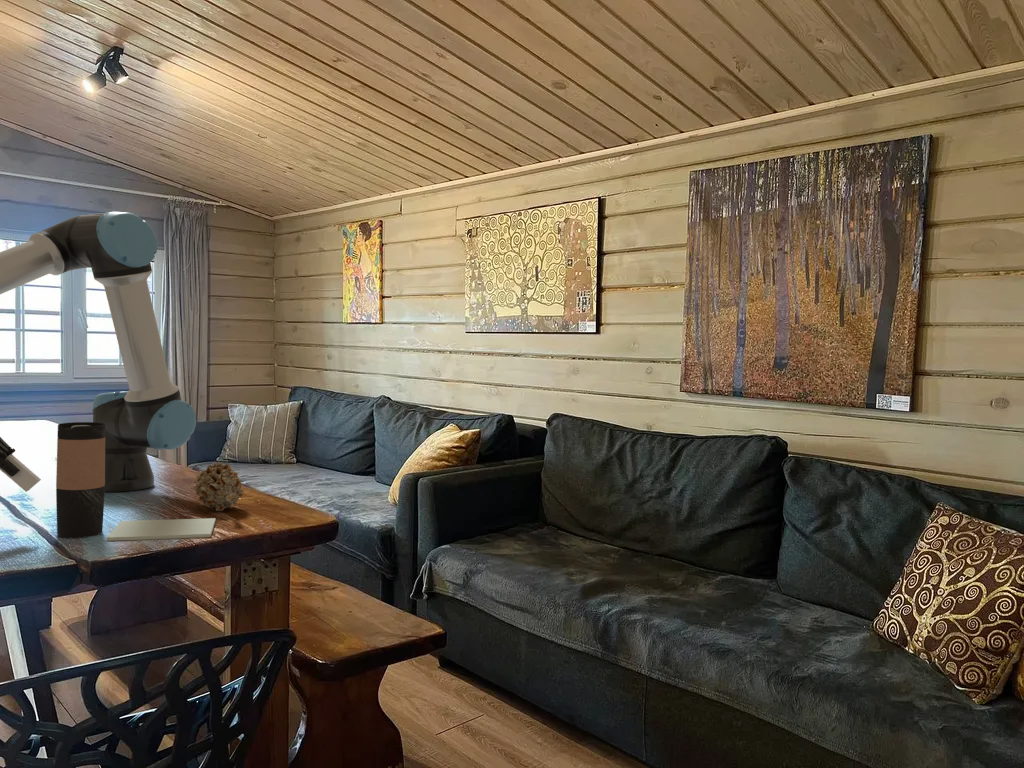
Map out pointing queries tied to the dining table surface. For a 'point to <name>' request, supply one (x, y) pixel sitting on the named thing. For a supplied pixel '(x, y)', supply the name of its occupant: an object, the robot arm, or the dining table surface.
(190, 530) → the mug mat
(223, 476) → the pine cone
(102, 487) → the travel mug
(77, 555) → the dining table surface
